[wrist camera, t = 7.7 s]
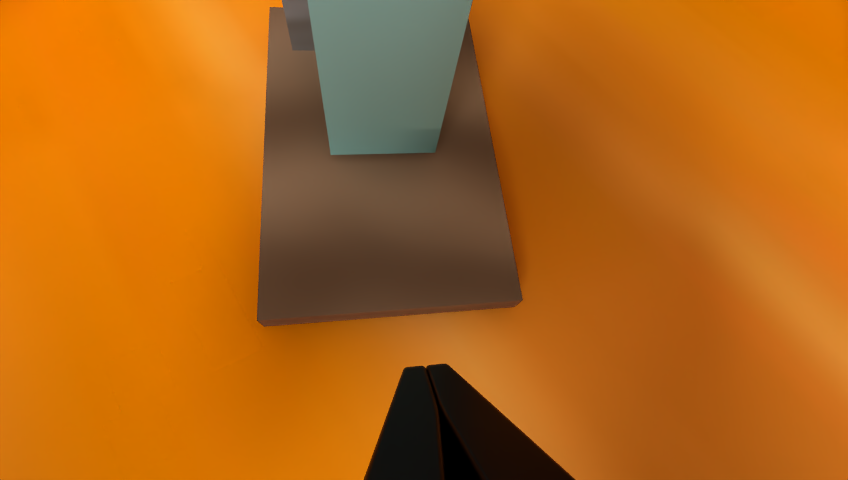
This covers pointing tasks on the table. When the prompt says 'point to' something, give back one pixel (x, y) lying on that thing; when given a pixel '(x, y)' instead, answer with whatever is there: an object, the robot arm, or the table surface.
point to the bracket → (375, 204)
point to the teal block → (386, 71)
